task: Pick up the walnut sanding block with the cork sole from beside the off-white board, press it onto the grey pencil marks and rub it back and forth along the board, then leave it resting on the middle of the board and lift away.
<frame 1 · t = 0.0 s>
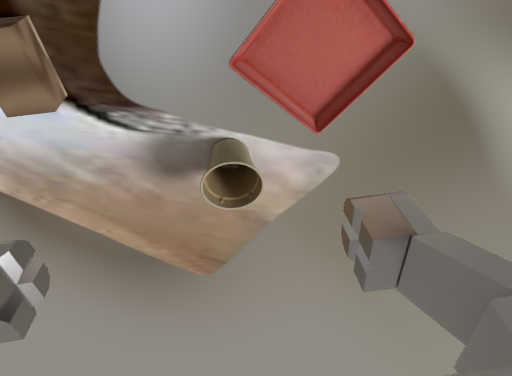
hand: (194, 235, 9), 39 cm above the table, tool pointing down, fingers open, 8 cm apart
flower pot: (229, 153, 54), on the table
sanding block: (26, 60, 41), on the table
plant saucer: (316, 44, 44), on the table
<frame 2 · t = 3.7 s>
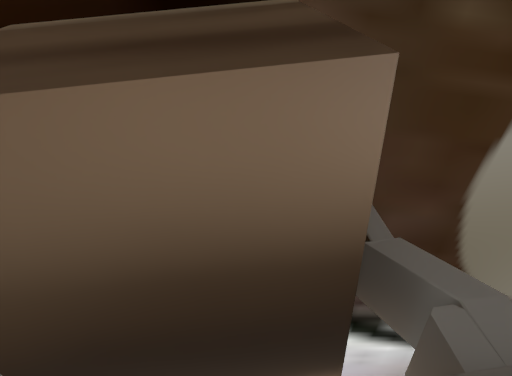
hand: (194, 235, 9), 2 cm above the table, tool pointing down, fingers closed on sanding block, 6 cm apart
sanding block: (196, 195, 10), on the table, touching gripper
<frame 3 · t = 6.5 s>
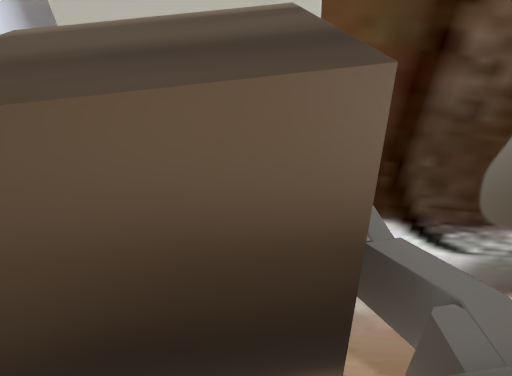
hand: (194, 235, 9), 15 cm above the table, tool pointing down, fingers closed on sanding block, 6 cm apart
marked board: (215, 142, 24), on the table
sanding block: (197, 198, 10), point 14 cm above the table, touching gripper
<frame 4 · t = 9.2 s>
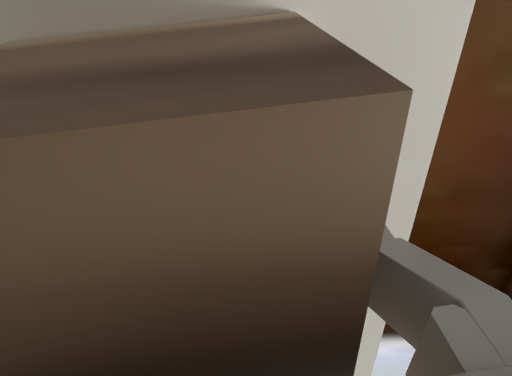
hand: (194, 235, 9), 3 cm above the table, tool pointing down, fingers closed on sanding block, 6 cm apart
marked board: (219, 258, 14), on the table
sanding block: (197, 210, 10), point 2 cm above the table, touching gripper
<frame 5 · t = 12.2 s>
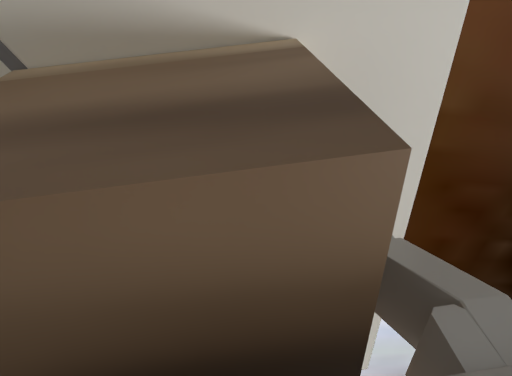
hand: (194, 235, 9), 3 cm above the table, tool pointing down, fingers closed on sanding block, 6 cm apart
marked board: (194, 190, 11), on the table
sanding block: (200, 227, 10), point 2 cm above the table, touching gripper
when the fingers open (3 cm above the table, at t = 14.7 s): sanding block stays where it is, resting on marked board.
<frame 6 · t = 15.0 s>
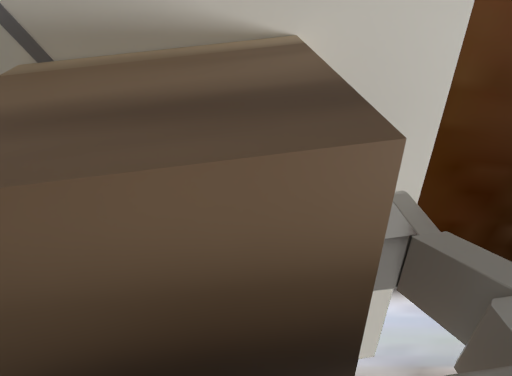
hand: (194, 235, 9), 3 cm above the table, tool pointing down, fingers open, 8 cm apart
marked board: (198, 169, 11), on the table
sanding block: (201, 221, 10), point 2 cm above the table, touching marked board
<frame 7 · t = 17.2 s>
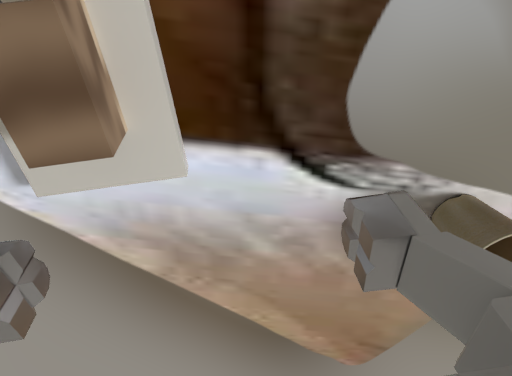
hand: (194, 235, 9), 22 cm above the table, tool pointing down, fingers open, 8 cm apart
marked board: (73, 60, 26), on the table
flower pot: (452, 213, 41), on the table
sanding block: (67, 74, 25), point 2 cm above the table, touching marked board
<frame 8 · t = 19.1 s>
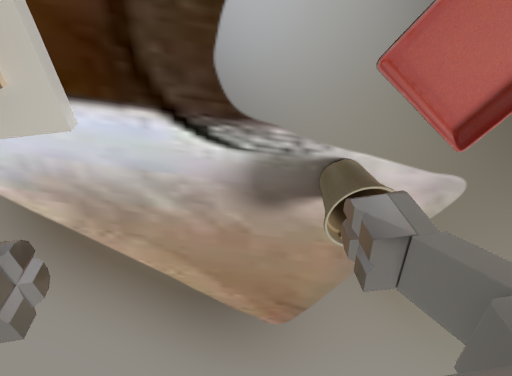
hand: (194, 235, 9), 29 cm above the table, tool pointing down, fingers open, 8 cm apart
flower pot: (340, 177, 45), on the table
plant saucer: (473, 42, 36), on the table
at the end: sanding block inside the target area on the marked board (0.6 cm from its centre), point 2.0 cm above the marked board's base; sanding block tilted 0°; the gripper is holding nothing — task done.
